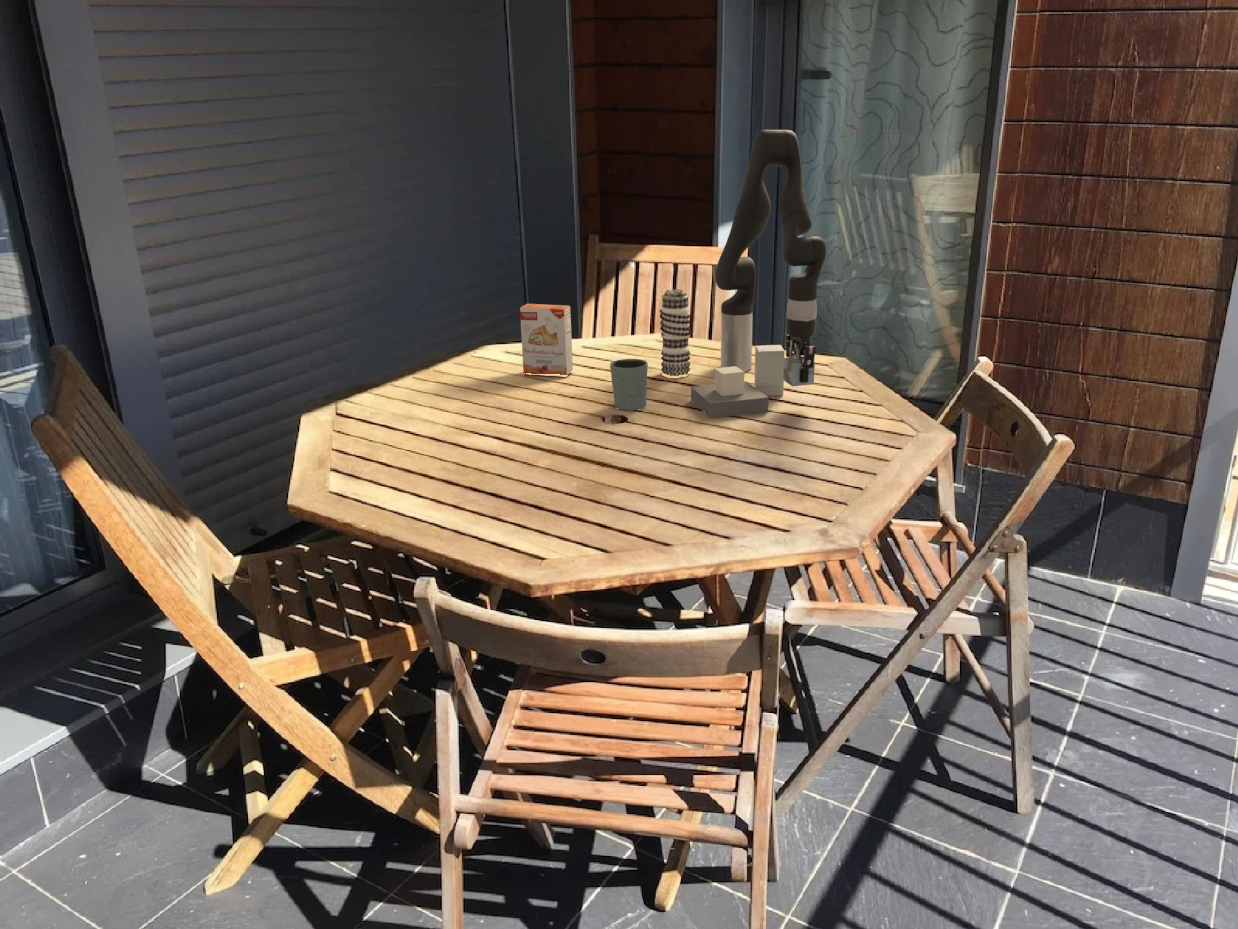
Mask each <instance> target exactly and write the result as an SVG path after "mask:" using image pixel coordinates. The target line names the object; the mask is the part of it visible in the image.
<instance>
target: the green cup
mask: <svg viewBox="0 0 1238 929" xmlns="http://www.w3.org/2000/svg"><path fill="white" fill-rule="evenodd" d="M648 365H649V363H648V361H646V360H644V359H641V358H623V359H616V360H613V361H611V362H610V363H609V367H610V375H611V386H612V393H613V394H612V395H613V402H614V408H615V407H616V408H618V409H622V410H628V411H627V412H634V411H633V410H637V411H639V410H638V409H641V410H643V409H642V408H644V407H645V406H646V407H647V394H648V392H647V391H648V388H647V386H648V367H649V366H648ZM646 407H645V408H646ZM616 408H615V409H616ZM645 408H644V409H645ZM618 409H617V410H618ZM622 410H621V411H622ZM629 410H630V411H629Z"/></svg>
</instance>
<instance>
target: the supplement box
mask: <svg viewBox="0 0 1238 929" xmlns="http://www.w3.org/2000/svg"><path fill="white" fill-rule="evenodd" d="M754 348H755V352H754V387H755V388H756V389H758V390H759V391H761V392H762V393H763V394H765V395H766V396H767V397H769V396H770V397H771V396H773V397H774V396H783V395H784V386H785V385H784V383H785V381H784V380H783V374H784V358H785V353H786V350H785V349H784V348H783V346H782V344H770V345H769V344H766V345H762V344H761V345H755V347H754Z"/></svg>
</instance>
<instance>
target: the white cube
mask: <svg viewBox="0 0 1238 929" xmlns="http://www.w3.org/2000/svg"><path fill="white" fill-rule="evenodd" d="M744 382H745V372H744V371H742V370H741V369H739V368H738V367H736V366H733V367H723V368H721V367H714V385H715V391H717V392H718V393H719V394H720V395H722V396H728V395H738V394H744Z"/></svg>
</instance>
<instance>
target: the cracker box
mask: <svg viewBox="0 0 1238 929" xmlns="http://www.w3.org/2000/svg"><path fill="white" fill-rule="evenodd" d="M519 310H520V311H519V312H520V314H519V316H520V332H521V333H520V335H521V352H522V354H521V355H522V368H523V374H524V373H525V374H526V373H531V374H560V375H567V374H569V373H570V372H571V371H572V370H573V369H574V368H573V366H574V365H573V344H572V342H573V341H572V321H571V320H572V317H571V316H572V315H571V306H570V305H566V304H565V305H562V304H561V305H560V304H543V303H542V304H540V303H539V304H537V303H526V304H524V305H522V306H520V308H519Z"/></svg>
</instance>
